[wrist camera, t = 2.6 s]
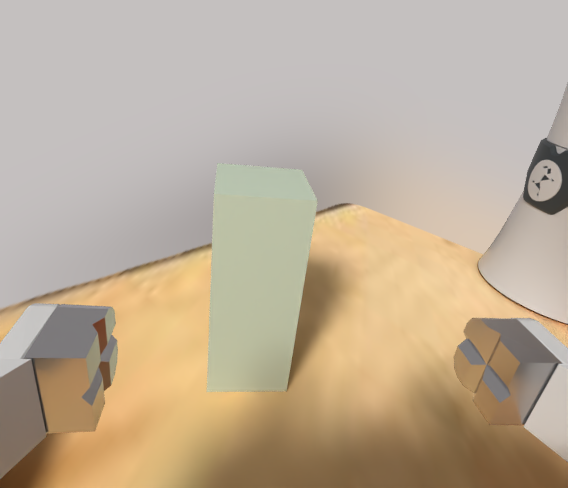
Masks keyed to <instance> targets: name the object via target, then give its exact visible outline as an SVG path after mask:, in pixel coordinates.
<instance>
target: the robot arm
mask: <svg viewBox="0 0 568 488" xmlns="http://www.w3.org/2000/svg"><path fill="white" fill-rule="evenodd" d="M478 268H479V270H480V272H481V274H482V275H483V277H484V278H485V279H486V280H487V281H488V282H489V283H490V284H491V285H492V286H493V287H494V288H496V289H497V290H498V291H500V292H501V293H502V294H504V295H505V296H507V297H508V298H510V299H512V300H513V301H515V302H517V303H519V304H521V305H522V306H524V307H526V308H528V309H530V310H533V311H535V312H537V313H539V314H542V315H544V316H547V317H549V318H552V319H555V320H557V321H560V322H563V323H566V324H568V84H567V87H566V90H565V93H564V96H563V99H562V101H561V104H560V107H559V109H558V112H557V115H556V117H555V120H554V122H553V125H552V127H551V130H550V132H549V135H548V137H547V138H545V139H543V140H541V142H540V144H539V146H538V148H537V151H536V153H535V155H534V157H533V160H532V162H531V165H530V167H529V169H528V172H527V178H526V183H525V187H524V191H523V193H522V195H521V197H520V198H519V200H518V202H517V203H516V205H515V207H514V209H513V210H512V212H511V214H510V216H509V218H508V219H507V221H506V223H505V225H504V226H503V228H502V230H501V231H500V233H499V234H498V236H497V237H496V239H495V240H494V242H493V243H492V244H491V246H490V247H489V248H488V250H487V251H486V252H485V254H484V255H483V256H482V257H481V258H480V260H479V262H478ZM115 324H116V321H115V312H114V309H113V308H112V307H105V306H85V305H65V304H61V305H59V304H36V303H35V304H33V305H30V306H29V307H28V308H27V309H26V310H25V312H24V313H23V314H22V315H21V317H20V318H19V319H18V321H17V322H16V323H15V325H14V326H13V327H12V329H11V330H10V331H9V332H8V334H7V335H6V336H5V338H4V339H3V340H2V342H1V343H0V479H1V478H2V477H3V476H4V475H5V474H6V473H7V472H8V471H10V470H11V469H12V468H13V467H14V466H15V465H16V464H17V463H18V462H19V461H20V460H21V459H23V458H24V457H25V456H26V455H27V454H28V453H29V452H30V451H31V450H32V449H33V448H34V447H36V446H37V445H38V444H39V443H40V442H41V441H42V440H43V439H44V438H45V437H46V436H47V435H46V434H48V433H70V432H93V431H95V430H96V427H97V424H98V422H99V419H100V416H101V413H102V410H103V407H104V405H105V397H104V391H105V390H106V389H107V388H109V387H110V386H111V384H112V381H113V378H114V375H115V370H116V365H117V354H118V347H117V340H116V339H115V338H114V337H113V336H112V335H111V334H112V332H113V329H114V327H115ZM464 334H465V336H466V340H464V341H463V342H462V343H461V344H460V345H458V347H457V350H456V352H455V355H454V369H455V372H456V375H457V377H458V379H459V380H460V382H461V383H462V385H463V386H464V387H466V388H467V389H469V390H470V391H472V392H473V393H474V396H473V402H474V403H475V404H476V406H477V407H478V409H479V410H480V412H481V413H482V415H483V416H484V418H485V419H486V421H487V422H488V424H489V425H524V428H525V429H527V430H528V431H529V432H530V433H532V434H533V435H534V436H535V437H537V438H538V439H539V440H540V441H542V442H543V443H544V444H545V445H547V446H548V447H549V448H550V449H552V450H553V451H554V452H555V453H557V454H558V455H559V456H560V457H562V458H563V459H564V460H565V461H567V462H568V348H567V347H566V346H565V345H563V344H562V343H561V342H560V341H559V340H558V339H557V338H556V337H555V336H554V335H552V334H551V333H550V332H549V331H548V330H547V329H546V328H545V327H544V326H543V325H541V324H540V323H539V322H538V321H536V320H534V319H531V318H510V319H498V318H472V319H471V320H470V321H469V322H468V323H467V325H466V327H465V329H464Z"/></svg>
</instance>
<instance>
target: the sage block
mask: <svg viewBox="0 0 568 488" xmlns="http://www.w3.org/2000/svg"><path fill="white" fill-rule="evenodd" d="M316 208H317V199H316V197H315V195H314V193H313V191H312V189H311V187H310V185H309V183H308V181H307V179H306V177H305V175H304V173H303V171H302V170H296V169H284V168H271V167H258V166H246V165H232V164H220V163H218V164H217V173H216V182H215V190H214V209H213V237H212V263H211V290H210V317H209V344H208V372H207V392H255V391H287V386H288V379H289V373H290V367H291V361H292V355H293V349H294V343H295V337H296V330H297V324H298V318H299V312H300V306H301V300H302V294H303V287H304V281H305V275H306V269H307V263H308V257H309V251H310V244H311V238H312V232H313V226H314V220H315V214H316Z"/></svg>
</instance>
